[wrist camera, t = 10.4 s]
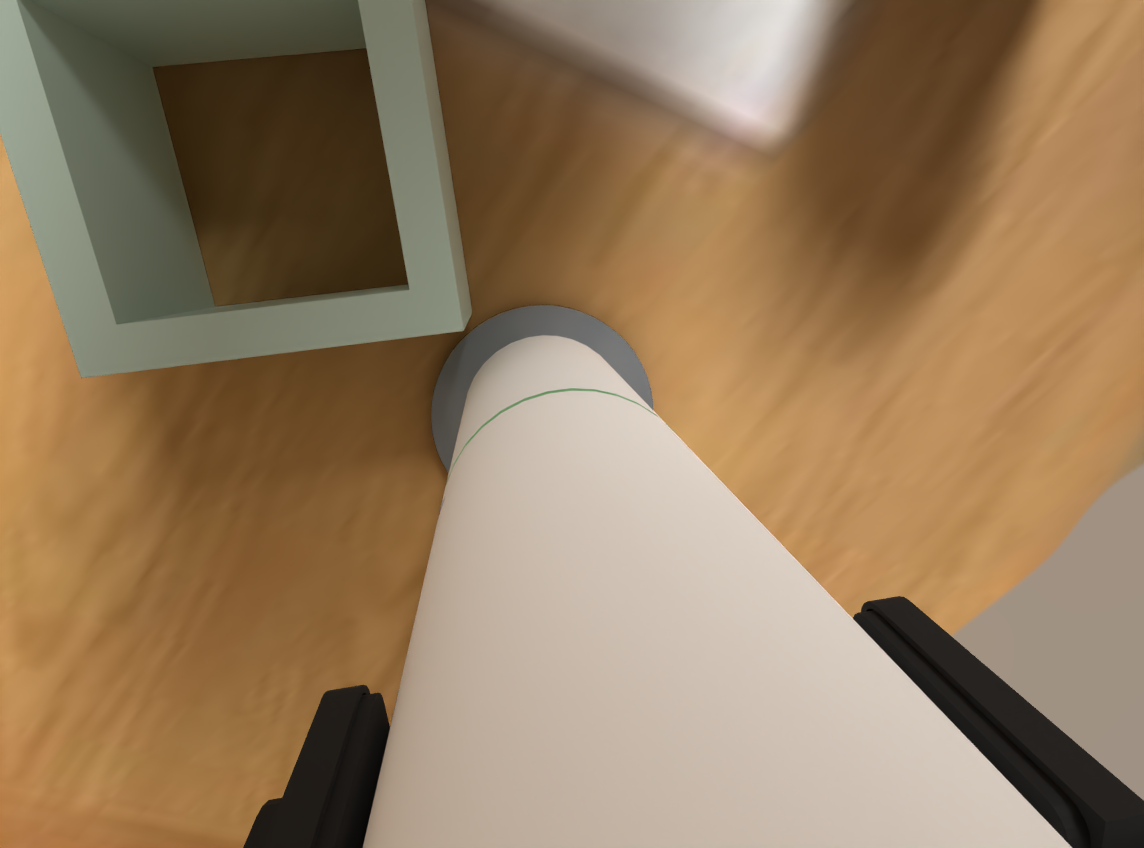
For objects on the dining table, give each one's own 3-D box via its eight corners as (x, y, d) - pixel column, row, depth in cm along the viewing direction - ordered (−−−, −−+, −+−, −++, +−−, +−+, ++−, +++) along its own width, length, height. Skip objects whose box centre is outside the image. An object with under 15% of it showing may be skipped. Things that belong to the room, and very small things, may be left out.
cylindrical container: (456, 483, 28) (190, 1888, 4) (473, 324, 26) (182, 1127, 2) (611, 499, 29) (1145, 1689, 5) (638, 347, 27) (1670, 1063, 3)
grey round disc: (415, 319, 27) (412, 321, 26) (640, 291, 28) (644, 292, 27) (452, 529, 30) (451, 536, 29) (656, 498, 31) (661, 505, 30)
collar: (98, 25, 23) (-67, -70, 16) (424, -2, 24) (395, -101, 17) (188, 346, 26) (81, 378, 20) (472, 312, 27) (463, 331, 21)
